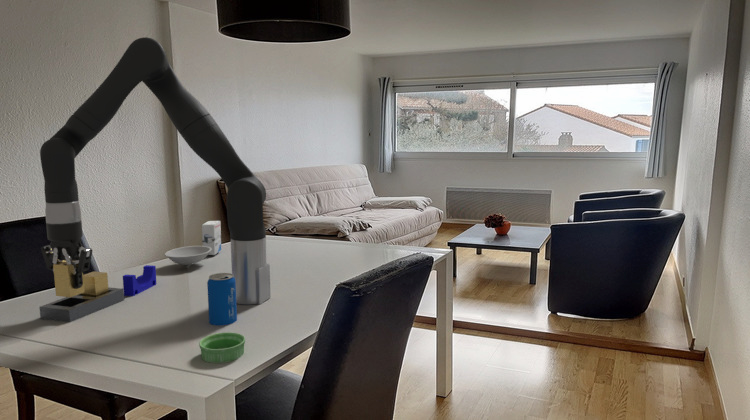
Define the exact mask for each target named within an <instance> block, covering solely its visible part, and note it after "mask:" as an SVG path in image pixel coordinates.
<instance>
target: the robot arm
mask: <svg viewBox="0 0 750 420" xmlns="http://www.w3.org/2000/svg"><path fill="white" fill-rule="evenodd" d="M167 56H168V55H167V54H166V51H165V48H164V47H163V46H162V44H161V43H160V42H159V41H157V40H156V39H155V38H151V37H140V38H136V39H134V40H133V41H131V43H130V44H129V46H128V47H127V48H126V50H125V51H124V53H123V54H122V56H121V58H120V59H119V61H118V62H117V63H116V65H115V66H114V67H113V69H112V70H111V71H110V73H109V74H108V75H107V77H105V79H104V80H103V82H102V83H101V84H100V85H99V86H98V88H96V90H95V91H94V92H92V94H91V95H90V96H89V97H88V98H87V99H86V100H85V101H84V102H83V103H82V104H81V105H79V107H78V108H77V109H76V110H75V111H74V112H73V113H72V114H71V115H70V116H69V118H68V119H67V121H66V122H65V124H64V125H63V126H62V127H61V128H60V129H59V130H57V131H56V133H55V134H54V135H52V136H51V137H50V138H49V139H47V140H45V142H43V143H42V145H41V147H40V150H39V157H40V165H41V169H42V175H43V180H44V189H43V190H44V199H45V201H44V202H45V209H44V210H45V211H44V212H45V223H46V234H47V235H46V236H47V240H48V241H50V244H48V245H45V246H41V247H40V251H41V254H42V256H43V259H44V260H43V261H44V262H45V266H46V269H47V270H48V271H52V272H53V273H54V268H53V264H59V263H62V262H67V265H70V266H71V271H72V274H73V275H72V279H73V288H74V289H78V288H81V287H82V285H83V277H82V273H83V274H84V272H86V271H89V270H90V265H91V260H92V255H93V249H92V248H91V247H89V248H88V247H87V248H86V247H84V246H83V244H82V241H81V240H82V238H83V235H84V234H83V225H82V224H83V222H82V211H81V205H80V199H79V189H78V188H79V187H78V183H77V180H76V165H75V158H76V157H77V156H78V155H79V154H80V153H81V152H82V151H83V149H84V148H85V147H86V145H88V143H90V141H93V140H94V138H96V137H97V136H98V135H99V134H100V132H102V130H104V128H105V127H106V126H107V125H108V124H110V122H111V121H112V119H113V118H114V117H115V116H116V114H117V113H118V111H119V110H120V108H121V107H122V106H123V105H122V104H123V103H124V102H125V101H126V98H128V96H129V95H130V94H131V92H133V90H134V89H135V88H136V87H138V85H139V84H140V83H144V85H145V86H146V87H147V88H148V89H149V90H150V91H151V92H152V94H153V95H154V96H155V98H157V99H158V101H159V102H160V104H161V105H162V107H163V108H164V111H165V112H166V114H167V115H168V118H169V120H171V122H172V124H173V126H174V127H175V129H176V130H177V131H178V133H179V134H180V136H181V137H182V138H183V140H184V141H185V142H186V144H187V146H189V147H190V149H191V150H192V151H193V152H194V153H195V154H196V155H197V156H198V157H199V158H200V159H202V160H203V162H205V163H206V164H207V165H209V167H210V168H212V169H213V171H215V172H216V173H217V174H218V175H219V177H220V179H221V180H222V181H223V183H224V184H225V186H226V188H227V192H226V214H227V215H226V216H227V226H228V230H229V233H230V235H229V236H230V237H229V238H230V256H231V257H230V260H231V262H230V263H231V274H233V277H234V278H235V281H236V305H237V304H238V305H261V304H262V303H264V302H265V301H267V300H269V299H271V296H272V295H271V266H270V264H269V263H267V261H268V260H267V236H266V235H267V233H266V232H267V231H266V227H265V223H264V204H265V201H266V199H267V190H266V188H265V186H264V184H263V183H262V181H261V180H260V179H259V178H258V177H257V176H256V175H255V174H254V172H252V170H251V169H250V168H249V167H248V166H247V165H246V164H245V162H244V161H243V160H242V159H241V158H240V156H239V155H238V153H237V152H236V149H234V146H232V144H231V142H230V140H229V139H228V138H227V136H226V135H225V134H224V133H225V132H224V131H223V130H222V129H221V127H220V126H219V124H218V122H217V121H216V120H215V119H214V118H213V116H212V115H211V113H210V112H209V110H207V108H205V106H204V105H203V104H202V103H201V102H200V101H199V100H198V99H197V98H196V97H195V96H194V95H192V93H191V92H190V91H188V90H187V88H186V87H185V86H184V85H183V83H182V82H181V80H180V79H179V77H178V75H177V74H176V72H175V71H174V69H173V67H172V66H171V64H170V62H169V59H168V57H167ZM73 261H74V262H73ZM75 264H77V265H78V268H77V269H76V266H75Z"/></svg>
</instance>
